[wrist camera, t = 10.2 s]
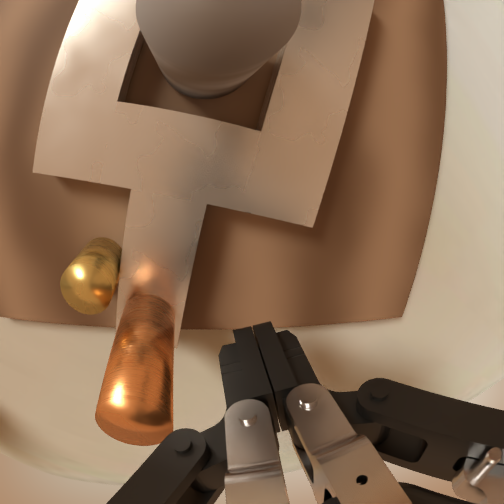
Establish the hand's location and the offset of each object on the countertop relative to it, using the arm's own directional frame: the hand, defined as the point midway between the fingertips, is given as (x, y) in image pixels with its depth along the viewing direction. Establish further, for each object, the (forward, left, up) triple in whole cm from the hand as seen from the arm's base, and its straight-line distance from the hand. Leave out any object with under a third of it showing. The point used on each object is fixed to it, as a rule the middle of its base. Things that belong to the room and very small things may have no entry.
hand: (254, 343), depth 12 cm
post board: (+2, -11, -5) cm, 12 cm away
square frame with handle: (+3, -8, -3) cm, 9 cm away
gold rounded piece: (+7, -2, -4) cm, 8 cm away
